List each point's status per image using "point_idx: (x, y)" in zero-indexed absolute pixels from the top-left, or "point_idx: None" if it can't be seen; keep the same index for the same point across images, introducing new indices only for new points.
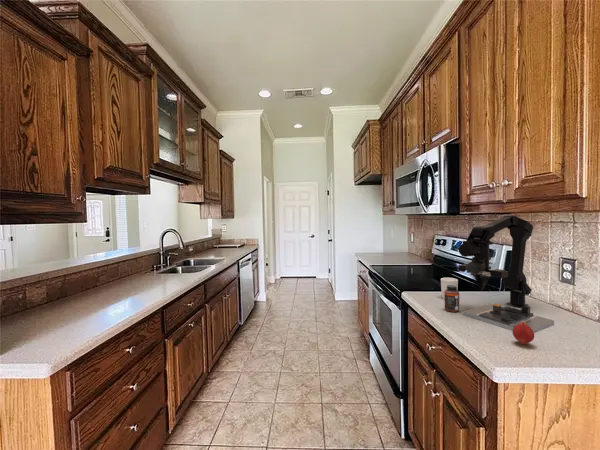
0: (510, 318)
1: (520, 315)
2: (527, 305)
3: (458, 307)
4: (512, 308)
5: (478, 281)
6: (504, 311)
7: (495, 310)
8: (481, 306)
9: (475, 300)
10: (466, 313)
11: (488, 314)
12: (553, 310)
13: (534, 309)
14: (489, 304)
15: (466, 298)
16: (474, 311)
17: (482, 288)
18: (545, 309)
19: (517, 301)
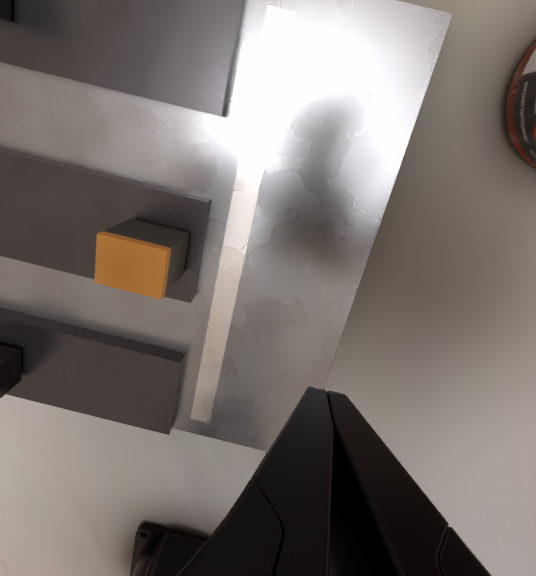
0: (20, 151)
1: (24, 308)
2: (131, 572)
3: (533, 80)
4: (110, 407)
5: (410, 551)
6: None
7: (161, 228)
8: (332, 340)
9: None
10: (404, 6)
11: (170, 51)
12: (20, 566)
13: (85, 535)
14: None
15: (505, 531)
16: (341, 121)
17: (294, 409)
18: (51, 562)
19: (151, 569)
